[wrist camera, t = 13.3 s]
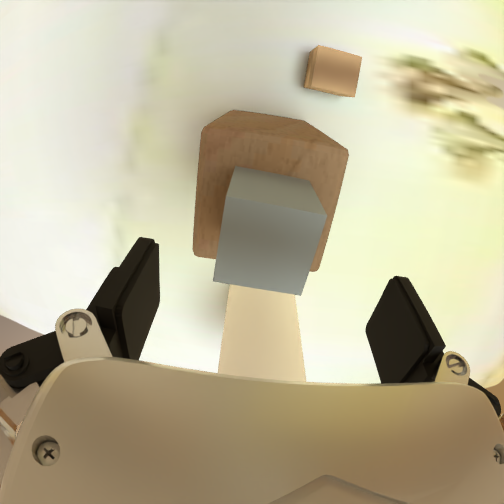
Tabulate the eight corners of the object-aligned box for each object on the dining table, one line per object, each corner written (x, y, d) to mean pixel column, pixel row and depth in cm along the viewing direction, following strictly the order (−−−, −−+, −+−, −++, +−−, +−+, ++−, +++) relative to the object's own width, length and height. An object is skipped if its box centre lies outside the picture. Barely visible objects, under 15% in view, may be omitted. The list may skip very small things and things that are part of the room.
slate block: (235, 166, 19) (226, 196, 14) (309, 180, 20) (327, 215, 15) (224, 232, 22) (213, 281, 17) (291, 244, 22) (300, 295, 17)
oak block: (309, 52, 31) (318, 45, 26) (347, 61, 31) (362, 57, 26) (303, 87, 34) (311, 86, 28) (341, 96, 34) (354, 97, 29)
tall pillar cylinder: (264, 326, 53) (265, 457, 32) (215, 296, 50) (191, 433, 28) (307, 290, 49) (331, 428, 27) (257, 254, 46) (255, 399, 24)
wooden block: (221, 181, 40) (191, 258, 23) (230, 109, 35) (200, 125, 18) (293, 192, 41) (318, 274, 23) (307, 121, 36) (352, 149, 19)
